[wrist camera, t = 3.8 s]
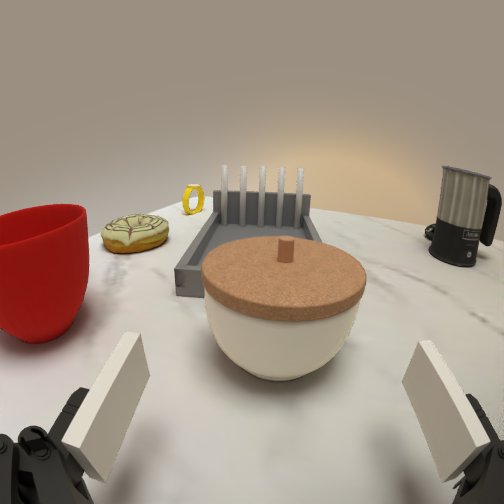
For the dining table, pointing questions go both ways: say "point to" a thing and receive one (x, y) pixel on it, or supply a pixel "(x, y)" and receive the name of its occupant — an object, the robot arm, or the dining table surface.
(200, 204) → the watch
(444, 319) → the dining table surface
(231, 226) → the dish rack
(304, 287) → the lidded jar
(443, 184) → the milk frother
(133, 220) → the decorated donut
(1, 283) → the ceramic cup
